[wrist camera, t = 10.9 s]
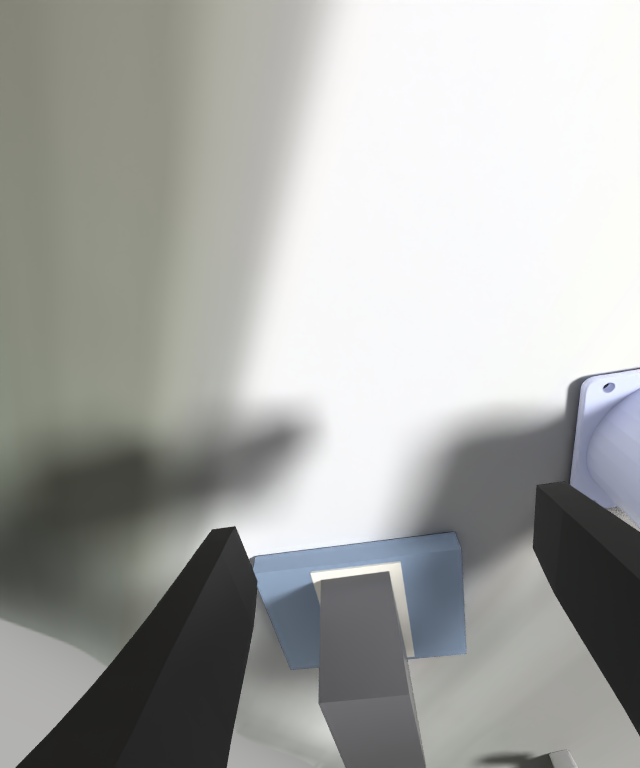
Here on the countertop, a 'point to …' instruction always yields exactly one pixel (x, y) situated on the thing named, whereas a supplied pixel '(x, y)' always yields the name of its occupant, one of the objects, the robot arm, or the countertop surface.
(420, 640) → the header board
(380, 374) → the countertop surface
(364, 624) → the block
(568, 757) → the lighter
